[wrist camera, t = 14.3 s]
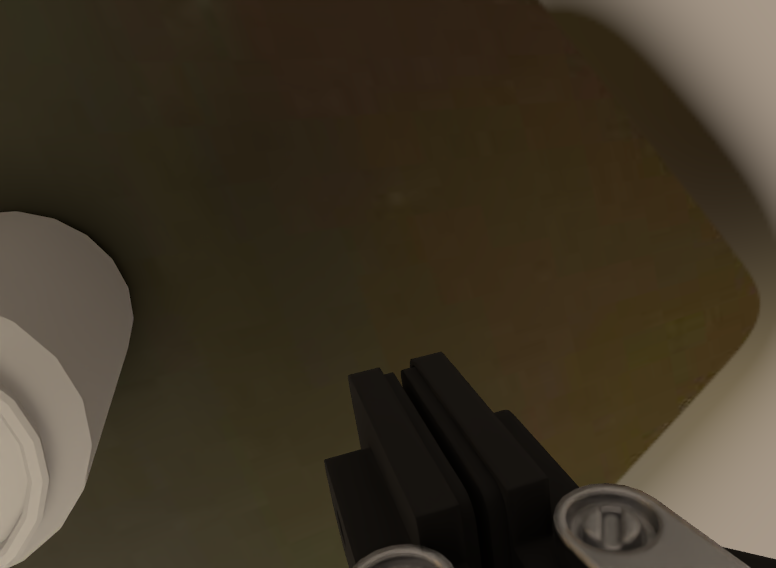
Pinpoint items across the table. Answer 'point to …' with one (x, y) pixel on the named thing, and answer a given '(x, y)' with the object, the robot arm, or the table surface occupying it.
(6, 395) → the can
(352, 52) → the table surface
